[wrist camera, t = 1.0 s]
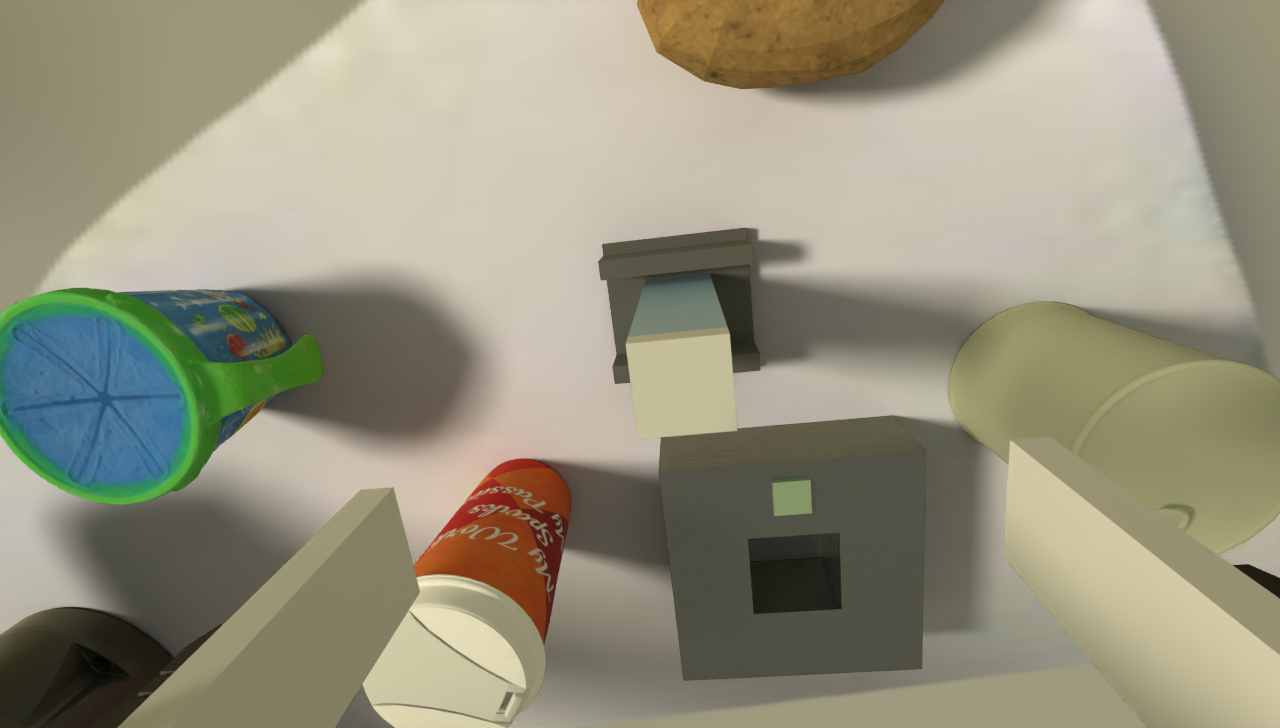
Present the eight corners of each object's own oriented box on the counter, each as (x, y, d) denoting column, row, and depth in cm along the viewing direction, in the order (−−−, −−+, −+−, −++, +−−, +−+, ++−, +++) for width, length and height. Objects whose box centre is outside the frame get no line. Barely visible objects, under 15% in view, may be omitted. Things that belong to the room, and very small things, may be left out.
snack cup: (350, 264, 36) (229, 296, 26) (371, 430, 39) (269, 513, 29) (97, 259, 37) (-110, 288, 27) (137, 422, 40) (-36, 500, 30)
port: (682, 623, 42) (683, 684, 37) (661, 435, 38) (658, 475, 33) (893, 611, 41) (924, 672, 36) (893, 415, 37) (927, 453, 32)
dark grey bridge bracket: (621, 377, 37) (616, 394, 34) (603, 244, 35) (596, 249, 32) (754, 364, 36) (761, 380, 33) (745, 227, 34) (751, 232, 31)
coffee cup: (608, 472, 39) (568, 643, 25) (561, 572, 41) (500, 781, 27) (485, 420, 38) (371, 565, 24) (445, 524, 41) (319, 712, 26)
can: (929, 440, 37) (1042, 557, 26) (973, 290, 34) (1121, 347, 23) (1082, 461, 37) (1265, 589, 25) (1138, 312, 34) (1371, 380, 23)
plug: (652, 341, 36) (637, 439, 22) (645, 279, 35) (625, 344, 21) (714, 335, 35) (737, 430, 22) (709, 273, 34) (729, 333, 21)
